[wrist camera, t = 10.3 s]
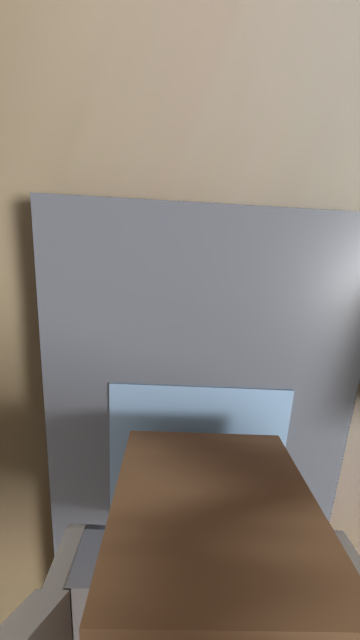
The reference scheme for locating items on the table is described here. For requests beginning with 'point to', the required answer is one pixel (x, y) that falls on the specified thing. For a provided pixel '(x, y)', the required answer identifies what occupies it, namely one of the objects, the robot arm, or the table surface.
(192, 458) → the walnut cube
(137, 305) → the board
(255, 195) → the table surface
